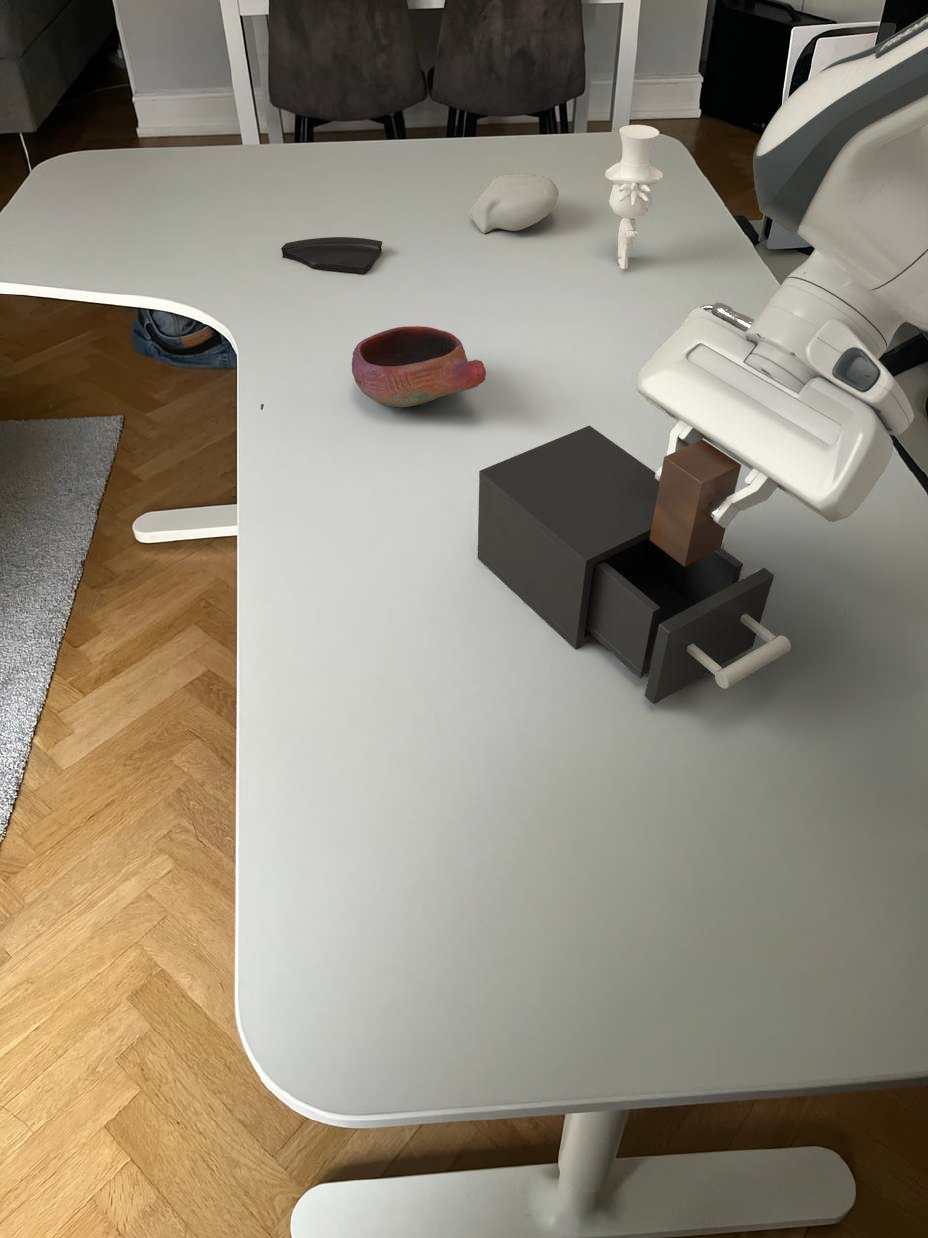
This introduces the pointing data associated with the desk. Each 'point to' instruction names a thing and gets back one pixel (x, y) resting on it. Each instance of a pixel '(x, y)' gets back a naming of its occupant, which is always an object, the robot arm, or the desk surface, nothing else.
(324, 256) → the curved wedge
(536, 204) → the shell shaped sculpture
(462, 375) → the bowl
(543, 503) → the drawer cabinet
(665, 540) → the walnut block
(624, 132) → the figurine
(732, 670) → the drawer
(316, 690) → the desk surface
